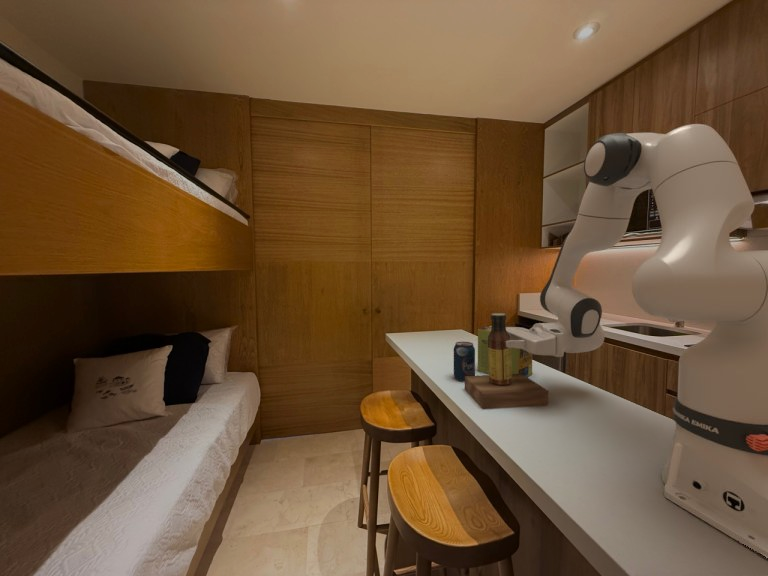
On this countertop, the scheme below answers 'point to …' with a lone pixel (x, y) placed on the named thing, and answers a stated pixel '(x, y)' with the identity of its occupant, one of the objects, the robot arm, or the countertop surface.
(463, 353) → the soda can
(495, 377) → the sauce bottle
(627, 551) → the countertop surface
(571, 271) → the robot arm
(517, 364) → the protein box
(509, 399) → the walnut stand
